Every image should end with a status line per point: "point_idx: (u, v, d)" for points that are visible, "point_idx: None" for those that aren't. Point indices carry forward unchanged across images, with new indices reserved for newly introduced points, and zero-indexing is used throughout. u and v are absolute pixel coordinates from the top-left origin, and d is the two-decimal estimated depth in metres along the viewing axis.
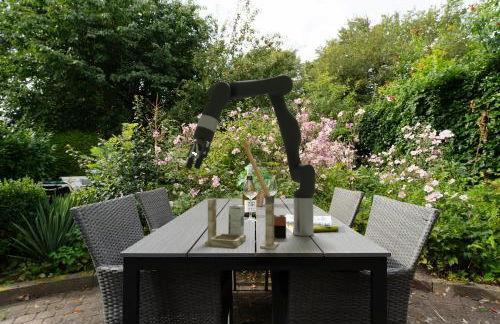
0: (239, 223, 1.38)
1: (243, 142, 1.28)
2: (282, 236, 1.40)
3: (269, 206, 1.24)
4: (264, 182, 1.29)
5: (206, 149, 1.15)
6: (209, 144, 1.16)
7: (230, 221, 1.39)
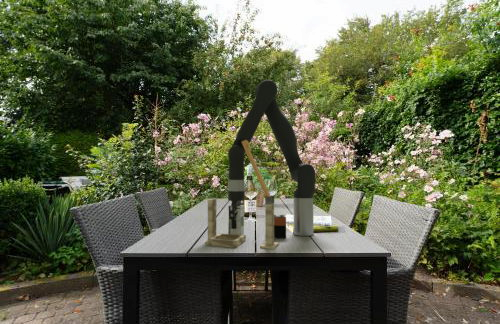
0: (239, 223, 1.38)
1: (243, 142, 1.28)
2: (282, 236, 1.40)
3: (269, 206, 1.24)
4: (264, 182, 1.29)
5: (231, 213, 1.36)
6: (232, 208, 1.35)
7: (230, 221, 1.39)
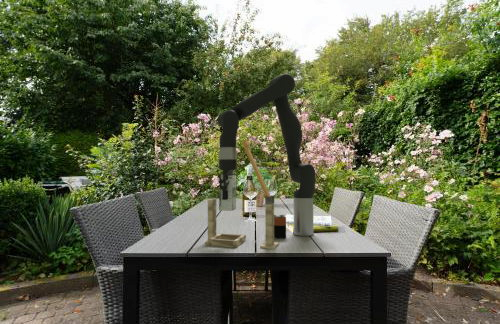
0: (231, 194, 1.28)
1: (243, 142, 1.28)
2: (282, 236, 1.40)
3: (269, 206, 1.24)
4: (264, 182, 1.29)
5: (222, 182, 1.25)
6: (223, 176, 1.25)
7: (221, 192, 1.29)
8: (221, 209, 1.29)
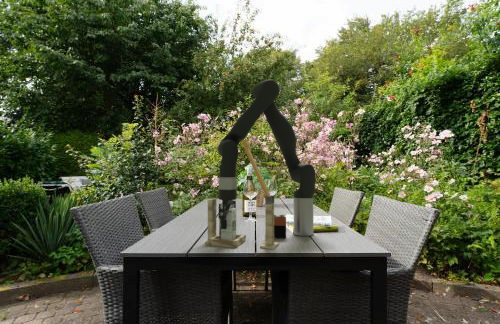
0: (230, 228, 1.28)
1: (243, 142, 1.28)
2: (282, 236, 1.40)
3: (269, 206, 1.24)
4: (264, 182, 1.29)
5: (221, 211, 1.25)
6: (223, 205, 1.25)
7: None
8: None
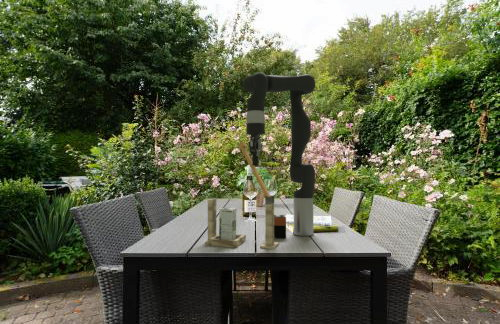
0: (230, 228, 1.28)
1: (240, 144, 1.28)
2: (282, 236, 1.40)
3: (269, 206, 1.24)
4: None
5: (252, 148, 1.24)
6: (253, 144, 1.23)
7: (221, 225, 1.29)
8: None
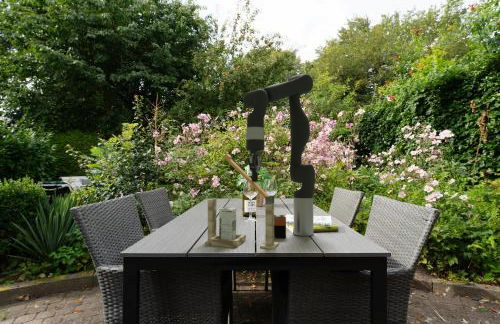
0: (230, 228, 1.28)
1: (225, 156, 1.30)
2: (282, 236, 1.40)
3: (269, 206, 1.24)
4: (258, 186, 1.29)
5: (252, 165, 1.24)
6: (252, 160, 1.22)
7: (221, 225, 1.29)
8: None
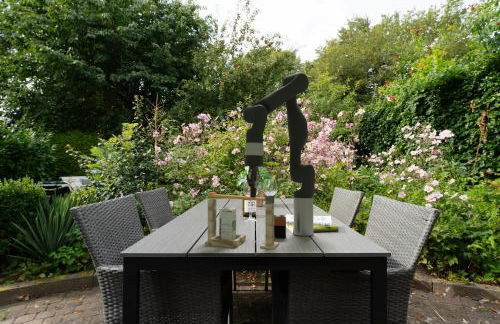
0: (230, 228, 1.28)
1: (209, 195, 1.32)
2: (282, 236, 1.40)
3: (269, 206, 1.24)
4: None
5: (250, 181, 1.24)
6: (251, 177, 1.22)
7: (221, 225, 1.29)
8: None
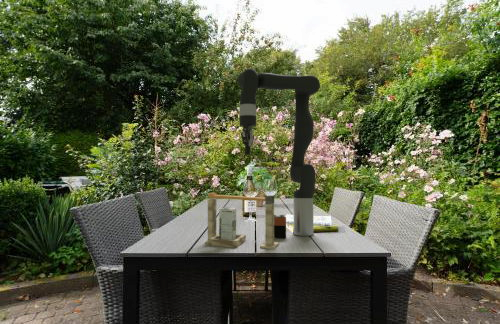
0: (230, 228, 1.28)
1: (209, 195, 1.32)
2: (282, 236, 1.40)
3: (269, 206, 1.24)
4: None
5: (245, 139, 1.34)
6: (245, 134, 1.33)
7: (221, 225, 1.29)
8: None
